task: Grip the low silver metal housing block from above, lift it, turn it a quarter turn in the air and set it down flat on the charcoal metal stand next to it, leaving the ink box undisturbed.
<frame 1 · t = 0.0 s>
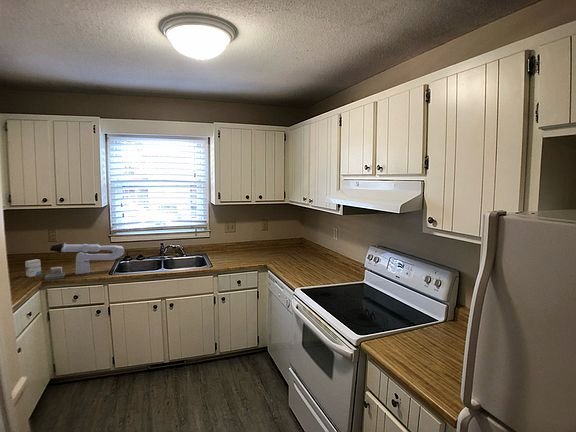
hand: (50, 248, 262), 22 cm above the counter, tool horizontal, fingers open, 7 cm apart
stand: (55, 277, 260), on the counter
ink box: (33, 275, 265), on the counter
housing: (56, 273, 270), on the counter
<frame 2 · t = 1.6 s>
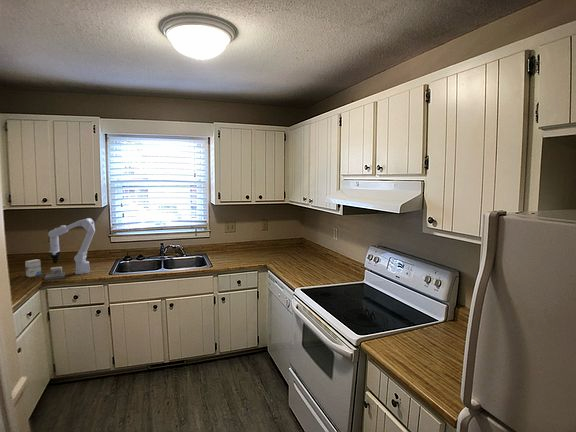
hand: (55, 262, 269), 9 cm above the counter, tool pointing down, fingers open, 7 cm apart
nothing on the counter moved.
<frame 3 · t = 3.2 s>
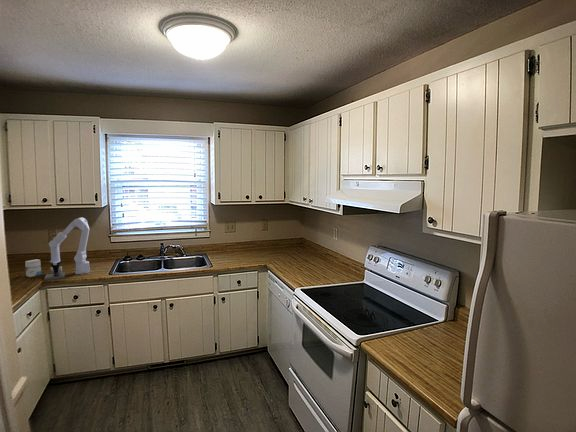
hand: (56, 271, 270), 1 cm above the counter, tool pointing down, fingers closed on housing, 5 cm apart
housing: (56, 273, 270), on the counter, touching gripper
everything else where it was.
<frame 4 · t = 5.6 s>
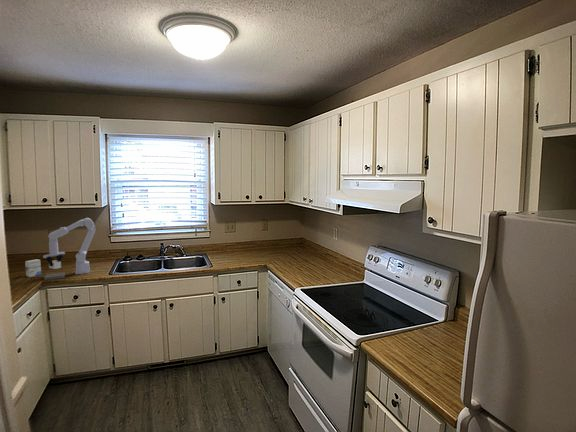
hand: (55, 265, 263), 8 cm above the counter, tool pointing down, fingers closed on housing, 5 cm apart
housing: (55, 267, 263), point 6 cm above the counter, touching gripper
everything else where it was.
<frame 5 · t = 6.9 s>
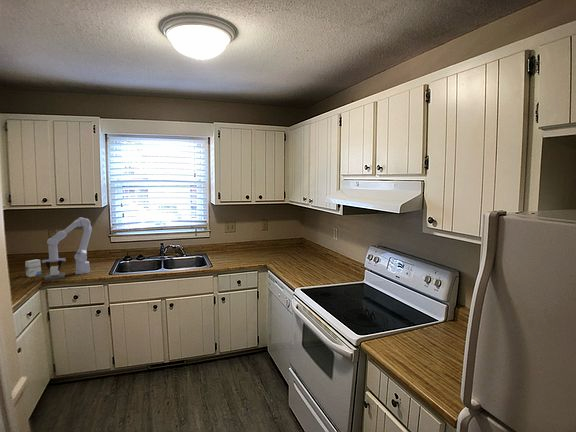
hand: (54, 271, 259), 5 cm above the counter, tool pointing down, fingers closed on housing, 5 cm apart
housing: (54, 273, 259), point 3 cm above the counter, touching gripper
everything else where it was.
when the fingers open (5 cm above the counter, at t = 7.8 s): housing stays where it is, resting on stand.
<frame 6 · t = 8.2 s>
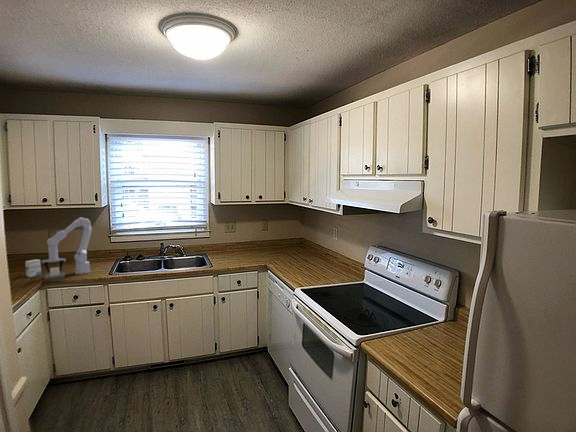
hand: (54, 271, 259), 5 cm above the counter, tool pointing down, fingers open, 7 cm apart
housing: (54, 275, 260), point 2 cm above the counter, touching stand
everything else where it was.
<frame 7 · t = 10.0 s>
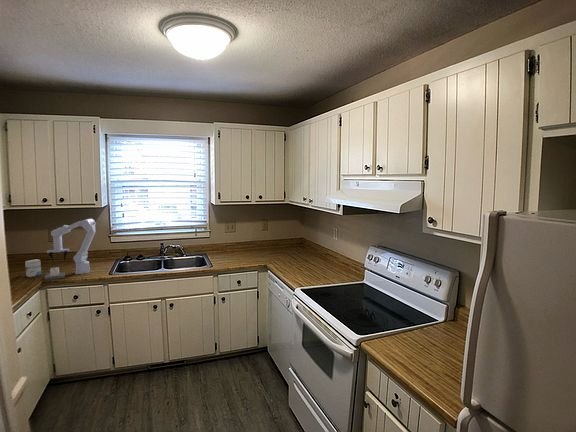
hand: (59, 261, 272), 9 cm above the counter, tool pointing down, fingers open, 7 cm apart
nothing on the counter moved.
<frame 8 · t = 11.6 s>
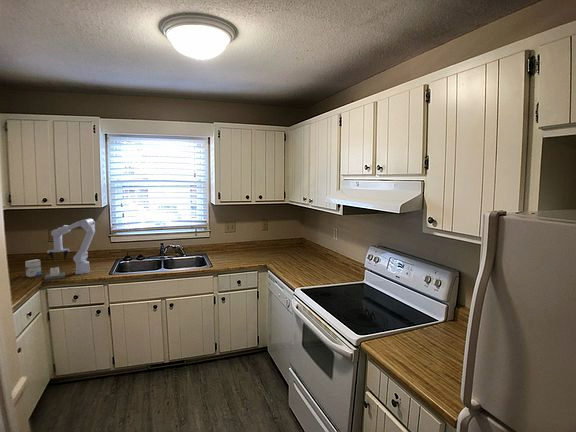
hand: (59, 260, 272), 9 cm above the counter, tool pointing down, fingers open, 7 cm apart
nothing on the counter moved.
at the end: housing 0.0 cm off-centre on the stand, point 2.0 cm above the stand's base; housing tilted 0°; the gripper is holding nothing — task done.
